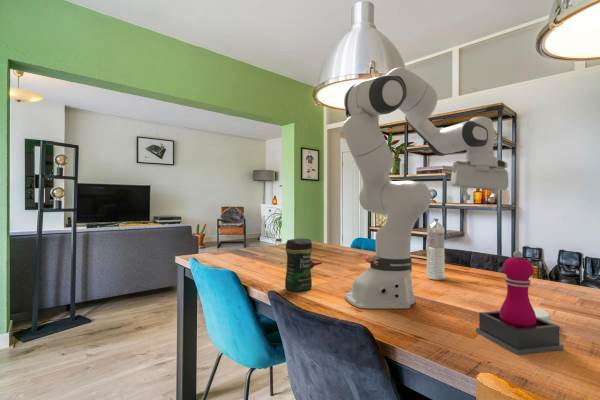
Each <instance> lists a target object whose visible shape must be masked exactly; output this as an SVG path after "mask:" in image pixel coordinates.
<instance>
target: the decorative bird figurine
mask: <svg viewBox="0 0 600 400" xmlns="http://www.w3.org/2000/svg"><path fill="white" fill-rule="evenodd" d="M322 264H323V262H320V261H318V262H315V261H313V260H312V259H310V266H311V270H312V269H314V267H315V266H318V265H322Z"/></svg>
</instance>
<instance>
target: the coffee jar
mask: <svg viewBox="0 0 600 400" xmlns="http://www.w3.org/2000/svg"><path fill="white" fill-rule="evenodd" d="M312 244H313V243H312V240H311V239H309V238H292V239H287V241H286V243H285V253H286V272H285V282H284V286H285V289H286V290H287V291H289V292H291V291H292V292H303V291H304V292H305V291H308V290H311V289H312V283H313V282H312V280H313V279H312V272H311V271H312V269H311V266H310V260H311V256H312V251H313V245H312Z"/></svg>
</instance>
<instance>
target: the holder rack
mask: <svg viewBox="0 0 600 400" xmlns="http://www.w3.org/2000/svg"><path fill="white" fill-rule="evenodd" d="M499 314H500V310H494V311H482V312H479V316H478V318H479V320H478V321H479V322H478V323H479V324H478V326H479V327H475V332H476V333H477V334H479V335H481V336H482V337H484V338H486V339H488V340H490V341H492V342H493V343H495V344H497V345H499V346H501V347H503V348H504V349H506V350H508V351H510V352H511V353H514V354H515V355H517V356H519V355H528V354H537V353H546V352H555V351H563V350H564V348H565V347H564V344H561V342H560V328H561V327H560V326H559V325H557V324H554V323H552V322H551V323H550V322H547V321H545V320H542V319H540V318H537V317H536V321H537V322H536V325H535V326H534V327H525V328H516V327H514V326H512V325H510V324H507V323H505V322H503V321H502V320H501V319H500V316H499Z"/></svg>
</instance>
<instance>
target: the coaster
mask: <svg viewBox="0 0 600 400" xmlns="http://www.w3.org/2000/svg"><path fill="white" fill-rule="evenodd" d="M532 308H533V310H534V312H535V315H536V317H537V318H540V319H542V320H545V321H547V322H550V323H552V315H551V313H549V312H548V311H546V310H544V309H542V308H538V307H534V306H532Z"/></svg>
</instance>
